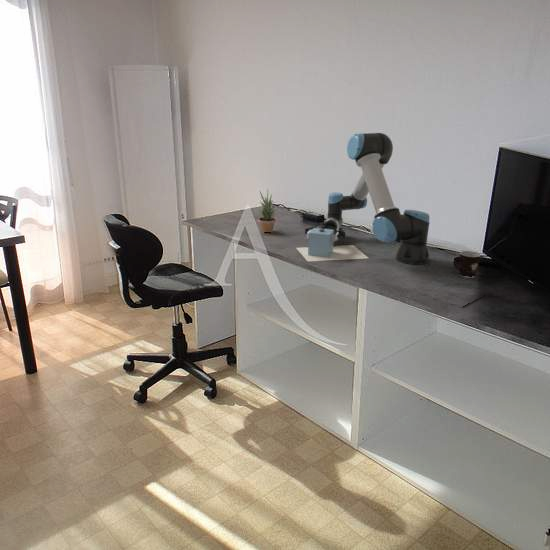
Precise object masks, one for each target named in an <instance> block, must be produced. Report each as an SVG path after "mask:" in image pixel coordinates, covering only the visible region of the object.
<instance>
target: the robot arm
mask: <svg viewBox="0 0 550 550" xmlns="http://www.w3.org/2000/svg"><path fill="white" fill-rule="evenodd" d="M393 146H394V145H393V142H392V140H391V138H390V137H389V136H388V135H387V134H385V133H383V132H373V133H372V132H371V133H370V132H369V133H367V132H366V133H363V132H359V133H354V134H353V135H351V136H350V138H349V140H348V142H347V147H346V152H347V156H348V158H349V159H351V160H353V161H355V163H356V164H355V165H357V167H359V168H360V169H361V171H362V174H361V176H360V177H359V179H358V181H357V183H356V185H355V187H354V189H353V191H352V193H351V195H344V194H343V193H342V192H331V193H329V194H328V197H327V198H328V200H327V203H328V204H327V219H326V220H325V222H324V223H323V224H322V225H321V226H318V225H314V226H310V227H307V228H304V234H305V235H306V239H309V232H310V231H311V230H312V229H313V228H324V229H332V230H334V242H337V241H338V239H341V238H343V239H344V238H346V232H345V231H344V230H343V229H342V227H341V226H342V225H343V222H344V220H343V211H350V210H351V211H352V210H353V211H354V210H361V209H364V208H366V207H367V205H368V204H367V203H368V198H367V196H368V194H370V199H371V202H372V204H373V208H374V211H375V214H374V217H373V218H374V219H373V221H372V233H373V235H374V237H375V238H376V239H377V240H378V241H379V242H381V243H393V242H397V241H398V242H399V241H400V243H399V246H398V248H397V250H396V253H395V259H396V260H397V261H398V262H400V261H401V263H403V262H405V263H404V264H408V263H413V264H412V265H423V264H422V263H424V264H427V263H428V262H429V260H430V254H429V251H428V245H427V243H428V234H429V229H430V228H429V227H430V214H429V213H427V212H424V211H419V210H415V209H405V210H404V212H403V214H401V210H400V208H399V207H396V206H395V204H394V201H393V198H392V195H391V192H390V189H389V187H388V184H387V180H386V178H385V176H384V172H383V168H384V167H385V165H387V164H388V163H389V162H390V160H391V158H392V156H393V151H394V148H393ZM426 262H427V263H426Z"/></svg>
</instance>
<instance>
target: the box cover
mask: <svg viewBox="0 0 550 550" xmlns="http://www.w3.org/2000/svg"><path fill="white" fill-rule="evenodd" d="M334 238H335V235H334V230H332V229H324V228H313V229H312V230H311V231H310V232H309V238H308V245H307V247H308V255H312V256H321V257H329V256H330V255H331V253H332V252H333V246H334V242H335V241H334Z"/></svg>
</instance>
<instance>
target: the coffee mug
mask: <svg viewBox="0 0 550 550" xmlns="http://www.w3.org/2000/svg"><path fill="white" fill-rule="evenodd" d="M481 256H482V254H481V253H479V252H477V251H473V250H472V251H471V250H462V251H459V257H456V258H454V260H453V266H454V268H456V269H457V270H458V272H459V273H458V274H460V275H462V276H469V277H472V276H475V277H476V274H477V270H478V267H479V263H480V260H481V258H482V257H481ZM457 260H459V266H457V265H456V262H457Z"/></svg>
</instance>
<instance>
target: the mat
mask: <svg viewBox="0 0 550 550" xmlns="http://www.w3.org/2000/svg"><path fill="white" fill-rule="evenodd" d="M295 248H296V250H297V251H298V253H300V255H302V257H303V258H304V259H305V260H306V262H323V261H342V260H344V261H345V260H363V259H369V257H368V256H367V255H366V254H365V253H363V252H362V251H361V250H360V249H358V248H357V247H356V246H355V245H353V244H352V245H351V244H350V245H333V252H332V253H331V255H330V256H329V257H321V256H312V255H308V246H304V247H295Z"/></svg>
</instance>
